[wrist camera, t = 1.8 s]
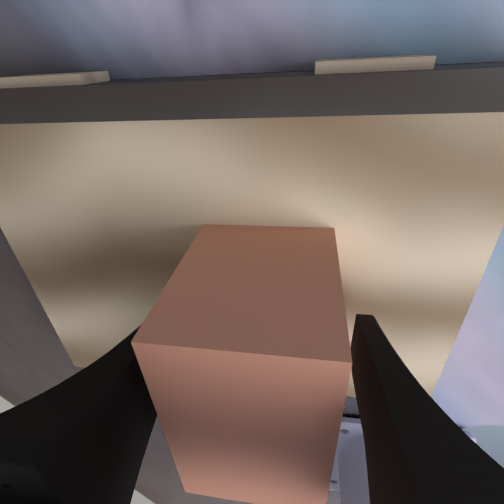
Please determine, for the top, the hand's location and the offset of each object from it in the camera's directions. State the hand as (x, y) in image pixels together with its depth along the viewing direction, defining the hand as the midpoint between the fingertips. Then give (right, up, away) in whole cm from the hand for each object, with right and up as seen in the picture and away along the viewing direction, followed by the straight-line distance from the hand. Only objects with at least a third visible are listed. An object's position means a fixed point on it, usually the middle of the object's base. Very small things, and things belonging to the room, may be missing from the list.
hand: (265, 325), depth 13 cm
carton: (0, +1, +1) cm, 1 cm away
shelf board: (-2, +2, +2) cm, 4 cm away
